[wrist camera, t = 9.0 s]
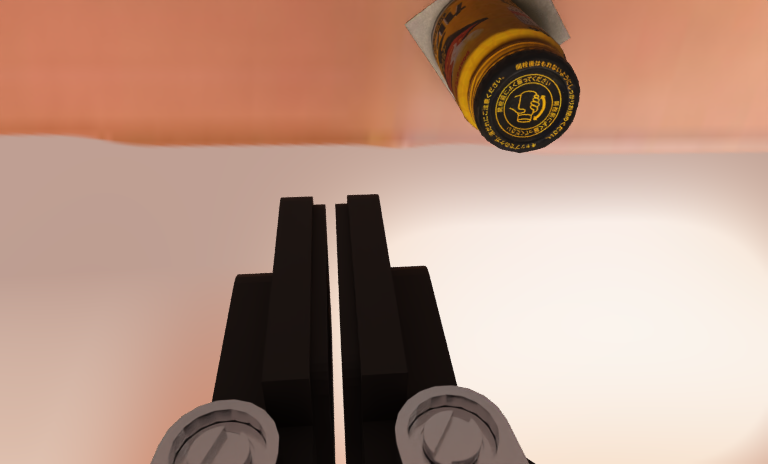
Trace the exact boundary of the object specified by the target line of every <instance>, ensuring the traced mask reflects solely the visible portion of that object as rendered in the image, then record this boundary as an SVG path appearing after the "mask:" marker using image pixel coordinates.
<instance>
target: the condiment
mask: <svg viewBox="0 0 768 464" xmlns="http://www.w3.org/2000/svg"><path fill="white" fill-rule="evenodd" d="M405 26H406V28H407V29H408V31H409V32H410V34H411V35H412V36H413V38H414V40H415V41H416V42H417V44H418V45H419V47H420V48H421V50H422V51H423V53H424V54H425V56H426V57H427V59H428V60H429V62H430V63H431V65H432V66H433V68H434V69H435V71H436V72H437V74H438V75H439V77H440V78H441V80H442V81H443V83H444V84H445V86H446V87H447V89H448V90H449V92H450V93H451V95H452V96H453V98H454V99H455V101H456V102H457V104H458V106H459V107H460V110H461V111H462V113H463V115H464V117H465V118H466V120H467V121H468V122H469V123H470V124H471V125H472V126H473V127H475V128H476V129H477V130H479V131H480V133H481V135H482V136H484V137H485V138H486V140H487V141H489V142H490V143H491V144H493V145H495V146H496V147H498V148H500V149H503V150H507V151H513V152H517V153H523V152H528V151H532V150H537V149H541V148H543V147H546V146H547V145H549V144H550V143H552V142H553V141H555V140H556V139H558V138H559V137H560V136H561V135H562V134H563V133H564V132H565V131H566V130H567V129H568V128H569V126H570V125H571V123H572V122H573V119H574V117H575V114H576V110H577V107H578V103H579V95H580V86H579V81H578V79H577V76H576V74H575V73H574V70H573V69H572V67H571V65H570V64H569V63H568V62H567V60H566V57H565V54H564V52H563V50H562V48H561V47H560V45H561V44H562V43H563V42H565V41H566V40H568V39H569V38H570V36H569V34H568V32H567V30H566V28H565V27H564V25H563V23H562V21H561V19H560V17H559V15H558V13H557V11H556V9H555V7H554V5H553V3H552V1H551V0H436V1H435V2H434V3H432V4H431V5H429V6H428V7H427V8H426V9H424V10H423V11H422V12H420V13H419V14H417V15H416V16H415V17H414V18H412V19H411V20H410V21H408V22H407V23H406V24H405Z"/></svg>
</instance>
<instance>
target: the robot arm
mask: <svg viewBox="0 0 768 464" xmlns="http://www.w3.org/2000/svg"><path fill="white" fill-rule="evenodd" d="M335 208H336V234H337V258H338V285H339V309H340V334H341V356H342V379H343V403H344V426H345V446H346V447H345V449H346V464H535V463H533V462H532V461H530V460H529V459H527V458H526V457H525V455H524V453H523V451H522V449H521V447H520V445H519V443H518V441H517V439H516V437H515V435H514V433H513V431H512V429H511V427H510V425H509V423H508V421H507V419H506V418H505V417H504V415H503V414H502V412H501V411H500V409H499V408H498V407H497V406H496V405H495V404H494V403H492V402H491V401H490V400H489V399H488V398H486V397H485V396H484V395H481V394H479V393H477V392H475V391H473V390H470V389H468V388H463V387H458V386H457V383H456V379H455V375H454V371H453V367H452V363H451V359H450V355H449V351H448V347H447V343H446V339H445V336H444V331H443V327H442V324H441V319H440V315H439V311H438V307H437V304H436V299H435V295H434V291H433V287H432V283H431V280H430V275H429V272H428V269H427V267H426V266H411V267H390V261H389V255H388V249H387V243H386V237H385V231H384V225H383V219H382V212H381V206H380V200H379V195H378V194H370V195H347V204H335ZM332 361H333V359H332V327H331V305H330V286H329V266H328V246H327V227H326V209H325V205H323V204H321V205H313V197H286V198H281V200H280V207H279V217H278V227H277V236H276V247H275V256H274V265H273V273H260V274H239V275H237V276H236V278H235V282H234V287H233V292H232V297H231V303H230V308H229V313H228V319H227V324H226V329H225V335H224V340H223V345H222V351H221V356H220V362H219V367H218V372H217V377H216V383H215V388H214V393H213V399H212V402H211V403H208V404H205V405H202V406H199V407H197V408H195V409H194V410H192V411H190V412H189V413H187V414H185V415H183V416H182V417H181V418H180V419H179V420H178V421H177V422H175V423H174V424H173V425H172V426H171V427H170V428H169V429H168V431H167V432H166V434H165V436H164V437H163V439H162V441H161V442H160V444H159V445H158V448H157V450H156V452H155V455H154V457H153V459H152V462H151V464H335V437H334V436H335V435H334V397H333V363H332Z"/></svg>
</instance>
